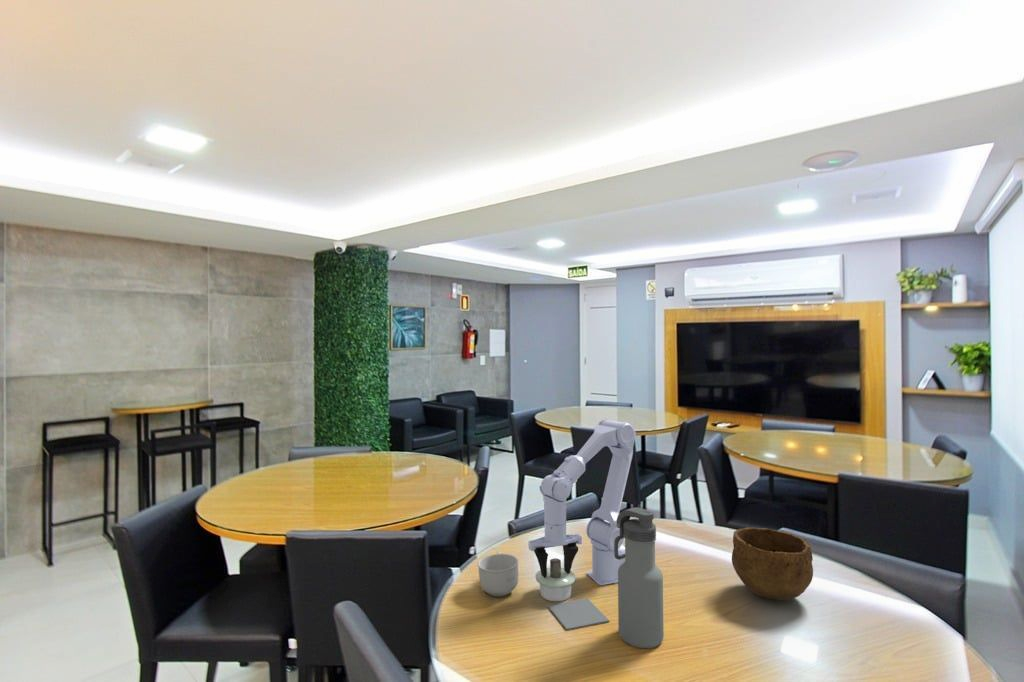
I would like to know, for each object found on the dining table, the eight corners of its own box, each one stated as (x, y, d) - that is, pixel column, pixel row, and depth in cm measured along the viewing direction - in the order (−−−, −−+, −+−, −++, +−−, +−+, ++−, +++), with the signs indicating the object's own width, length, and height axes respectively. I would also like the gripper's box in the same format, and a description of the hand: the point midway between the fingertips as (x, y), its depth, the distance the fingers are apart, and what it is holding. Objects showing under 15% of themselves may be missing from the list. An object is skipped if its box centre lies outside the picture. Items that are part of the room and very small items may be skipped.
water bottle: (607, 633, 111) (606, 509, 112) (635, 619, 117) (634, 501, 118) (644, 655, 103) (643, 521, 104) (672, 639, 109) (671, 511, 110)
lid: (565, 567, 136) (564, 550, 136) (582, 583, 127) (582, 565, 127) (530, 572, 133) (529, 555, 133) (545, 590, 123) (544, 571, 123)
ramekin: (534, 589, 133) (534, 572, 133) (565, 585, 135) (565, 569, 135) (544, 605, 124) (544, 588, 124) (577, 600, 126) (577, 583, 127)
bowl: (808, 586, 133) (807, 531, 134) (818, 621, 116) (817, 557, 117) (732, 573, 141) (731, 521, 142) (731, 604, 124) (730, 544, 125)
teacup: (514, 603, 125) (514, 571, 126) (473, 598, 127) (473, 567, 128) (523, 578, 139) (523, 549, 139) (486, 575, 141) (486, 546, 141)
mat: (587, 599, 127) (587, 598, 127) (609, 621, 116) (609, 620, 116) (548, 607, 123) (548, 605, 123) (566, 630, 113) (566, 628, 113)
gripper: (573, 514, 136) (573, 563, 136) (524, 520, 132) (524, 571, 131) (585, 522, 130) (585, 574, 129) (533, 529, 125) (534, 583, 125)
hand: (555, 574), depth 130 cm, fingers open, 6 cm apart
